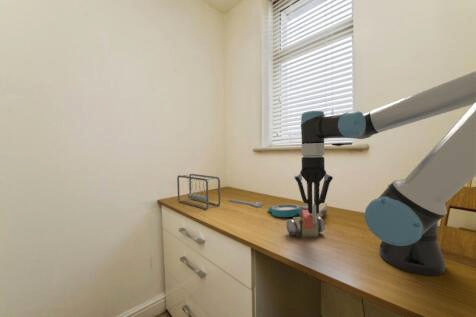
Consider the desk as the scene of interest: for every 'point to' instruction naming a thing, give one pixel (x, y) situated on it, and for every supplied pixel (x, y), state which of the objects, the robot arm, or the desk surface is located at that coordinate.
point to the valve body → (298, 228)
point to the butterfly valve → (293, 210)
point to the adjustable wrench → (255, 204)
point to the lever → (306, 217)
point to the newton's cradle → (198, 197)
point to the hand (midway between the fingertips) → (313, 222)
